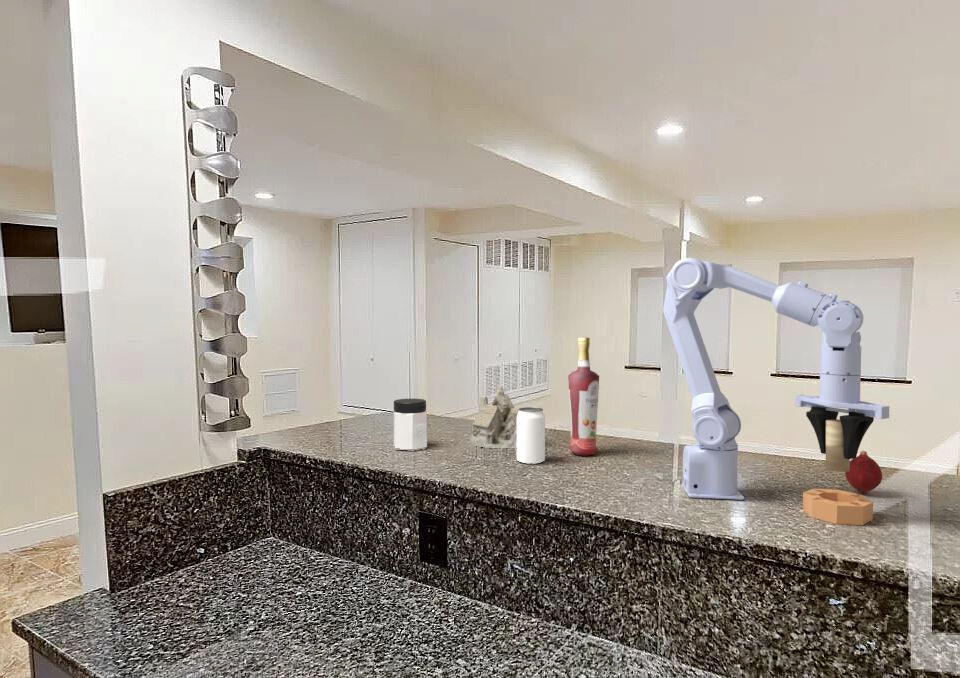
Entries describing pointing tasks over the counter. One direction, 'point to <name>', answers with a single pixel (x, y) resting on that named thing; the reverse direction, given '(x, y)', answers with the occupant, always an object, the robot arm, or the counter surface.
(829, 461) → the dowel
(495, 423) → the ceramic cottage
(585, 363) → the liquor
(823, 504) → the orange faceted ring
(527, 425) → the can
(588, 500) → the counter surface
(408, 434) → the jar
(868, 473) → the onion
